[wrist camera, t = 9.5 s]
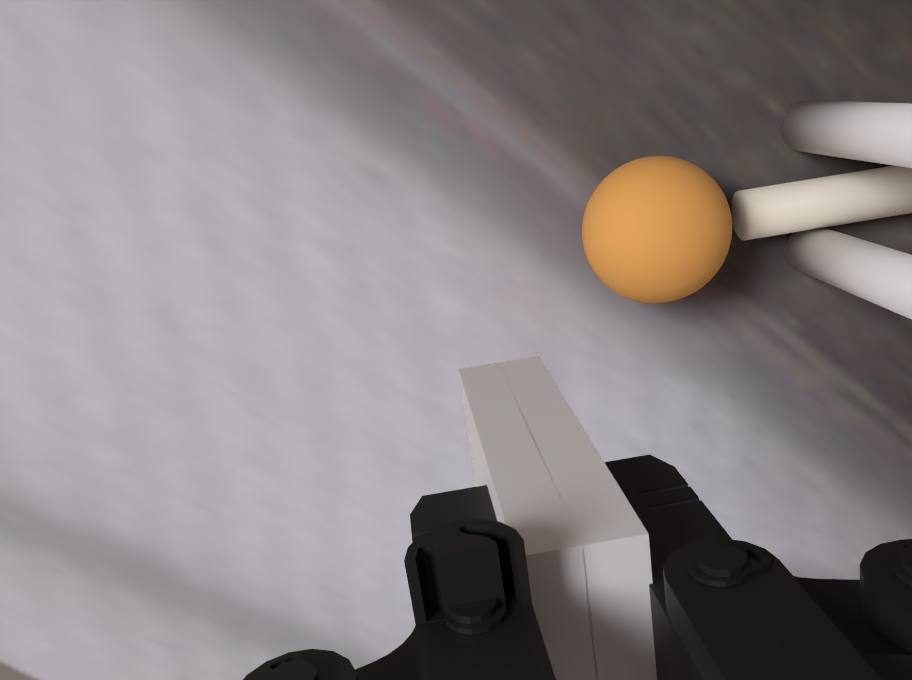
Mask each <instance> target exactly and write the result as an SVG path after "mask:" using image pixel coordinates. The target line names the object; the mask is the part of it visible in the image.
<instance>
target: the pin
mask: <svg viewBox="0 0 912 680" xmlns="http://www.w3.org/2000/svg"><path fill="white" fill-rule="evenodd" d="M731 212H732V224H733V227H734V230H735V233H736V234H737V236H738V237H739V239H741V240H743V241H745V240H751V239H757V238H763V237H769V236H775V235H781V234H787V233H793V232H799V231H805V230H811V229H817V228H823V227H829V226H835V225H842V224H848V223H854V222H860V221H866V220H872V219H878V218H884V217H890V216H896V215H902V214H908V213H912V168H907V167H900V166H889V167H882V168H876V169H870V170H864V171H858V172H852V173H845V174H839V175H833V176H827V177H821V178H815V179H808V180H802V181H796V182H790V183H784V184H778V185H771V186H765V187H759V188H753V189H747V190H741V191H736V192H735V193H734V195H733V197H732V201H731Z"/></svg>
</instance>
